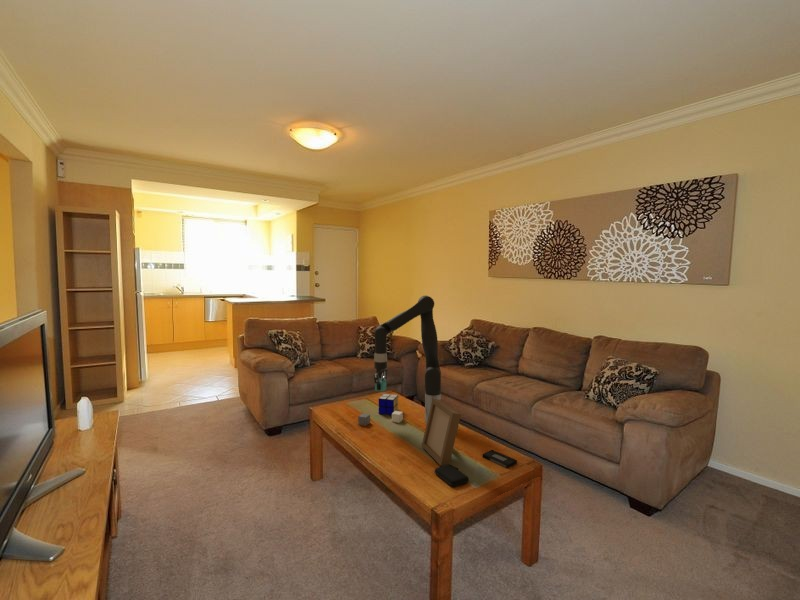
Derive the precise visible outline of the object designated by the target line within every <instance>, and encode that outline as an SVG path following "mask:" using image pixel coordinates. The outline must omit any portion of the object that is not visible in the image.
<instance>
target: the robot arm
mask: <svg viewBox="0 0 800 600" xmlns="http://www.w3.org/2000/svg"><path fill="white" fill-rule="evenodd" d="M434 307H435V301H434V299H433V298H432V297H431V296H428V295H422V296H420V297H419V298H418V301H417V303H415V304H414V305H412V306H411V307H409V308H408V309H406V310H405V311H402V312H399V313H398V314H397V315H395V316H393V317H392V318H390V319H389V320H387V321H385V322H383V323H382V324H380V325H378V326H377V327H376V328H375V330H374V356H373V360H374V365H373V367H374V369H375V370H376V372H375V373H374V374H373V381H374V384H375V383H376V384H377V390H381V380H384V381H386V380H387V379H388V372H389V371H388V354H387V351H388V350H387V337H388V336H387V335H389V334H390V333H391V332H394V331H396V330H398V329H400V328H401V327H403V326H404V325H406V324H407V323H410V322H411V321H412V320H414V319H415V318H417V317H419V316H420V333H421V335H420V336H421V337H420V338H421V345H422V349H423V353H424V357H425V374H424V422H425V423H426V424H427V420H428V416H429V412H430V407H431V403H432V399H438V400H441V398H442V397H441V396H442V395H441V393H442V390H441V389H442V388H441V387H442V386H441V385H442V384H441V383H442V381H441V380H442V372H441V368H440V363H439V357H438V356H439V343H438V334H437V333H438V332H437V328H436V324H435V320H434V314H433V313H434V310H433V309H434ZM441 401H442V400H441Z"/></svg>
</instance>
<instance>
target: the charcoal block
mask: <svg viewBox="0 0 800 600" xmlns="http://www.w3.org/2000/svg"><path fill="white" fill-rule="evenodd" d="M357 422H358V426H359V425H360V426H365V427H366V426H368V425H369V424H370V423H371V414H369V413H368V414H367V413H361V414H360V415H358V421H357Z"/></svg>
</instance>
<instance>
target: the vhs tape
mask: <svg viewBox="0 0 800 600" xmlns="http://www.w3.org/2000/svg"><path fill="white" fill-rule="evenodd" d="M482 458H484V459H485V460H488V461H490V462H492V463H494V464H497V465H499V466H501V467H503V468H505V469H509V468H511V467H513V466H515V465H516V464H518V460H517V459H516V458H513V457H510V456H507V455H505V454H504V453H501V452H499V451H496V450H494V449H490V450H488V451H485V452H484V453H482Z"/></svg>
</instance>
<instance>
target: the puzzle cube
mask: <svg viewBox="0 0 800 600" xmlns="http://www.w3.org/2000/svg"><path fill="white" fill-rule="evenodd" d="M394 411H399V395H398V394H389V393H383V394H382V395H381V396H380V397H379V398H378V414H379V415H387V416H392V413H393V412H394Z"/></svg>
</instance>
